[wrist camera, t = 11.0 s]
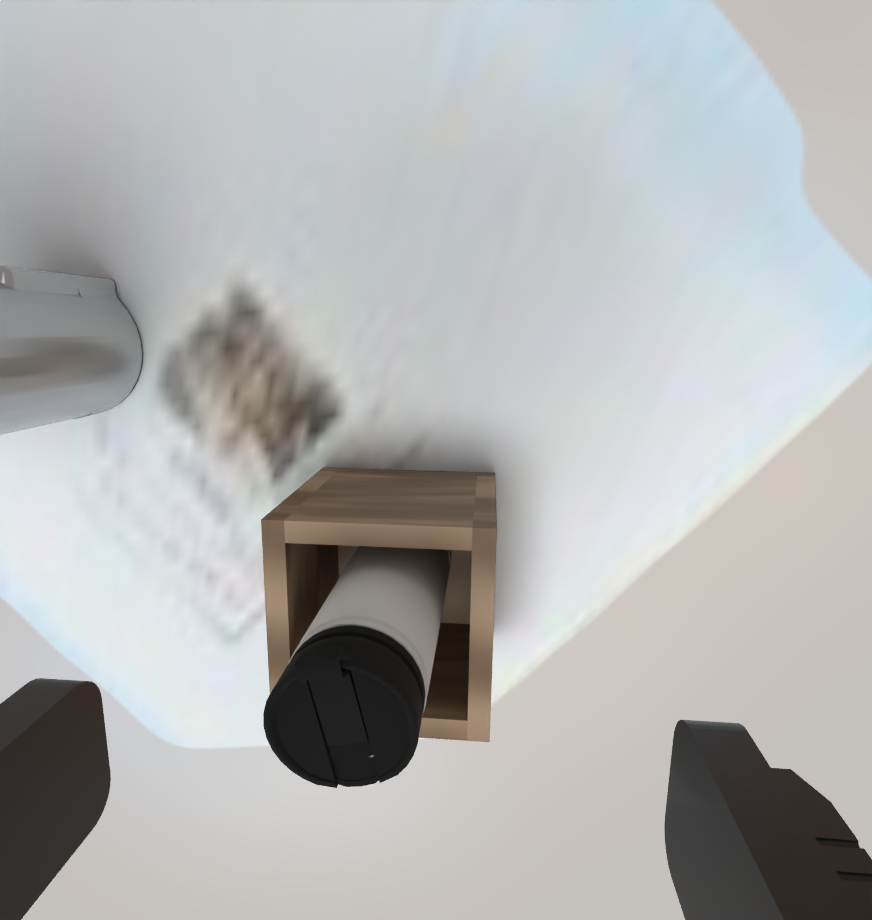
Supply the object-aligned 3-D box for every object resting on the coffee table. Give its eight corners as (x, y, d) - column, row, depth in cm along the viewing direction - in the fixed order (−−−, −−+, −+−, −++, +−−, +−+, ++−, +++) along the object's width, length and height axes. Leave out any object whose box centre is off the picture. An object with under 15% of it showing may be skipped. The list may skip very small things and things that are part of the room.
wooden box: (323, 467, 43) (261, 519, 32) (495, 473, 42) (496, 528, 31) (327, 625, 46) (271, 727, 34) (489, 634, 45) (489, 741, 33)
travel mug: (441, 498, 42) (396, 645, 23) (459, 588, 43) (432, 801, 24) (352, 514, 43) (235, 668, 23) (373, 601, 44) (279, 818, 25)
